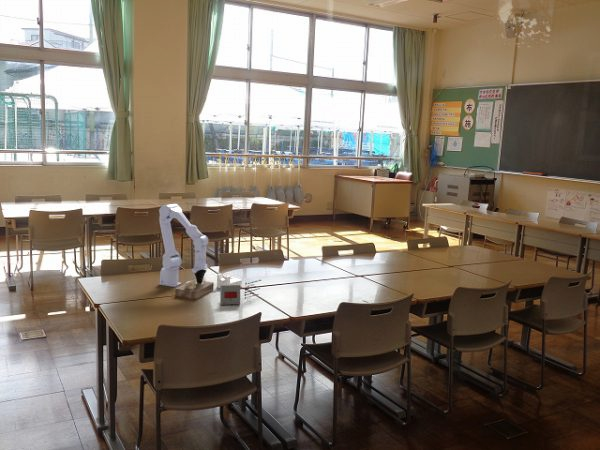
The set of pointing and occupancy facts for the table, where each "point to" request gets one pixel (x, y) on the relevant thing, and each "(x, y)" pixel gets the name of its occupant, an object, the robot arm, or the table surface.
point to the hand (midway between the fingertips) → (199, 283)
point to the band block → (194, 290)
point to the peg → (190, 285)
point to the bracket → (227, 281)
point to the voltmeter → (233, 293)
